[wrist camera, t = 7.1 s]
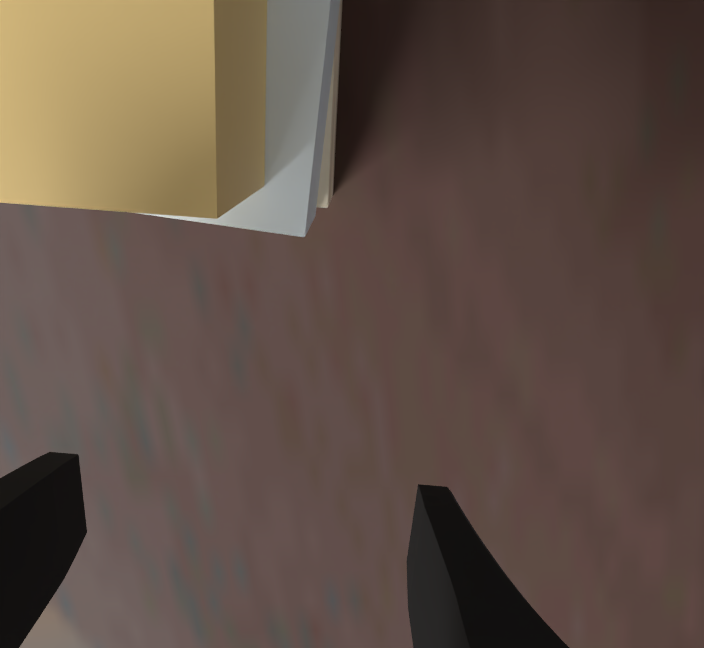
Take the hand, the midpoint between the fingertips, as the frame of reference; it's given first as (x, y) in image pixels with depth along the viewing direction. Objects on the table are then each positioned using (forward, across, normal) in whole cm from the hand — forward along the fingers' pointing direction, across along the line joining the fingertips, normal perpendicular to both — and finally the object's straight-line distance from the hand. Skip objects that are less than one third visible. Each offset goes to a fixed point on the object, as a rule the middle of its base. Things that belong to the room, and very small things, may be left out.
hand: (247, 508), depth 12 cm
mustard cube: (+4, +3, -8) cm, 10 cm away
